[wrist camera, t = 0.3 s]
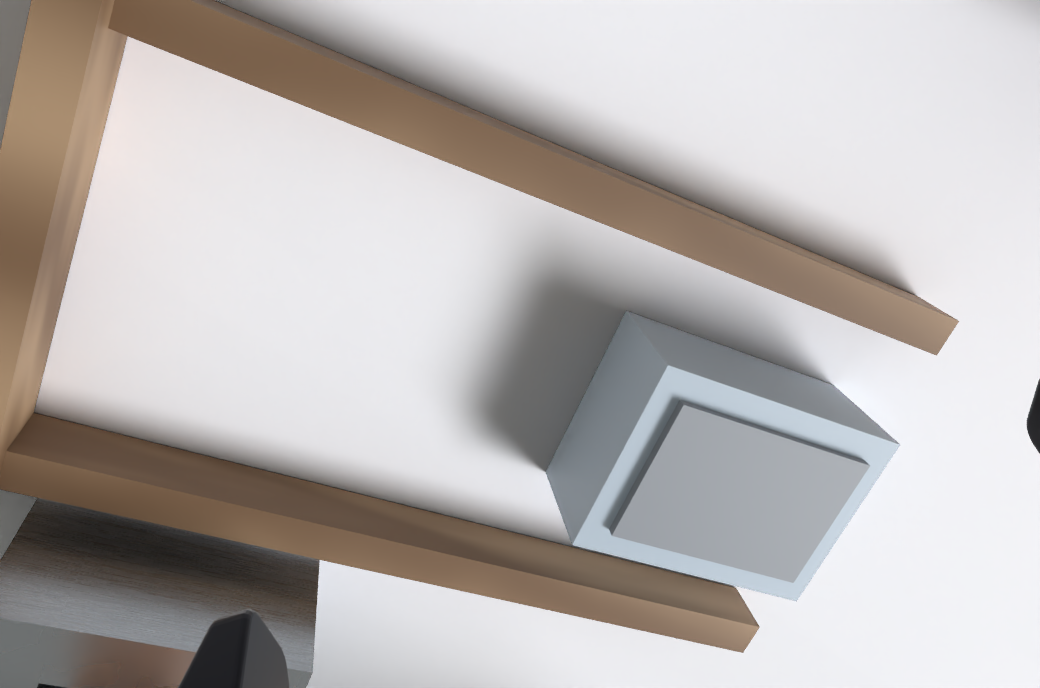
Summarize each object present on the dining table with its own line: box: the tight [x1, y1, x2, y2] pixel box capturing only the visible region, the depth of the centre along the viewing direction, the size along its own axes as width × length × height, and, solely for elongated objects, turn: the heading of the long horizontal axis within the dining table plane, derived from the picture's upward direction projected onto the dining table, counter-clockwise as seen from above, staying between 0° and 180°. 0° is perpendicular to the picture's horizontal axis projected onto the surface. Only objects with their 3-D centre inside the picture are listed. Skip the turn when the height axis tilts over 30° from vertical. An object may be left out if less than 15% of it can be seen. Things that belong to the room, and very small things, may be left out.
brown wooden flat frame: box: [0, 0, 959, 653], centre depth 23 cm, size 13×25×3 cm, turn 66°
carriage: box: [546, 311, 900, 601], centre depth 25 cm, size 6×8×4 cm
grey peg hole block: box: [0, 498, 319, 688], centre depth 24 cm, size 8×8×6 cm
